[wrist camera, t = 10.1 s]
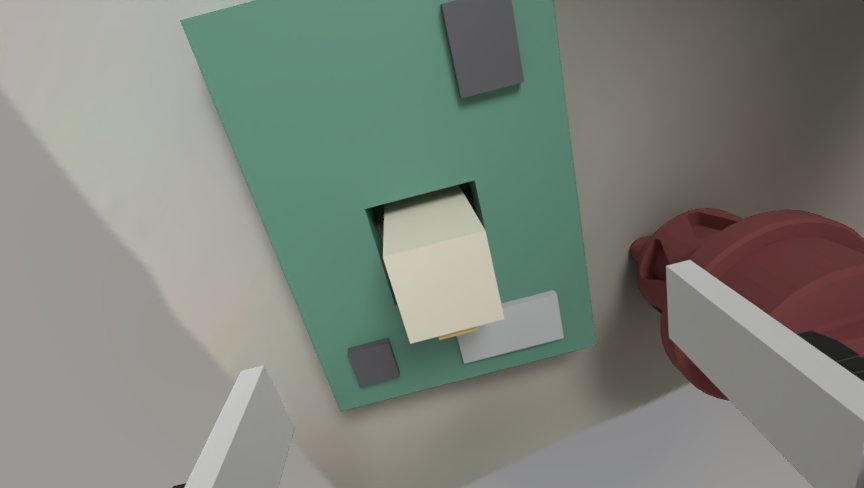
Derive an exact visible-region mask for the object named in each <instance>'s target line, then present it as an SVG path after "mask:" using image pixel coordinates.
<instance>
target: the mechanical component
mask: <svg viewBox="0 0 864 488" xmlns="http://www.w3.org/2000/svg"><path fill="white" fill-rule="evenodd" d="M630 254H631V256H632V258H633V259H634V260H636V261H637V262H638V263H639V265H638V273H637V275H638V284H639V287H640V290H641V292H642V294H643V296H644V298H645V299H646V300H647V301H648V302H649V303H650V304H651V305H652V306H653V307H654V308H655V309H656V310H658V311H659V312H660V313H661V337H662V343H663V346H664V348H665V351H666V353H667V355H668V357H669V358H670V360H671V362H672V363H673V364H674V365H675V366H676V367H677V369H678V370H679V371H680V372H681V373H682V374H683V375H684V376H685V377H686V378H687V379H688V380H689V381H690V382H691V383H692V384H693V385H694V386H695V387H696V388H698V389H700V390H701V391H703V392H705V393H706V394H708V395H711V396H714V397H716V398H720V399H724V400H729V399H728V398H727V397H726V396H725V395H724V394H723V393H722V392H721V391H720V390H719V389H718V388H717V387H716V386H715V384H714V383H713V382H712V381H711V380H710V379H709V378H708V377H707V376H706V375H705V374H704V373H703V372H702V371H701V370H700V369H699V368H698V367H697V366H696V365H695V364H694V363H693V362H692V361H691V360H690V359H689V357H688V356H687V355H686V354H685V353H684V352H683V351H682V350H681V349H680V348H679V347H678V346H677V345H676V344H675V343H674V342H673V341H672V340H671V339H670V338H669V329H668V304H667V280H666V266H667V265H671V264H675V263H679V262H683V261H687V260H691V261H692V262H694V263H695V264H697V265H698V266H700V267H701V268H702V269H704V270H705V271H707V272H708V273H710V274H711V275H712V276H714V277H715V278H717V279H718V280H720V281H721V282H722V283H724V284H725V285H727V286H728V287H730V288H731V289H732V290H734V291H735V292H737V293H738V294H740V295H741V296H742V297H744V298H745V299H747V300H748V301H749V302H751V303H752V304H754V305H755V306H757V307H758V308H759V309H761V310H762V311H764V312H765V313H767V314H768V315H769V316H771V317H772V318H774V319H775V320H777V321H778V322H779V323H781V324H782V325H784V326H785V327H787V328H788V329H789V330H791V331H792V332H794V333H795V334H799V333H803V332H807V331H814V332H817V333H819V334H822V335H825V336H827V337H830V338H833V339H835V340H838V341H839V342H841V343H842V344H844V345H846V346H847V347H849V348H850V349H852V350H853V351H855V352H856V353H858V354H859V356H860V357H864V239H863V238H862V237H861V236H860V235H859V234H858V233H857V232H855V231H854V230H853V229H851V228H849V227H847V226H846V225H844V224H841V223H839V222H836V221H833V220H830V219H827V218H825V217H822V216H819V215H816V214H813V213H809V212H805V211H797V210H778V211H771V212H766V213H761V214H757V215H754V216H751V217H748V218H745V219H742V218H739V217H737V216H735V215H732V214H730V213H728V212H725V211H722V210H719V209H710V208H706V209H697V210H692V211H688V212H686V213H683V214H681V215H679V216H677V217H675V218H673V219H672V220H670V221H668V222H667V223H666V224H665V225H663V226H662V227H661V228H660V229H659V230H658V231H657V232H656V233H655V234H654V235H653V236H652V237H641V238H639V239H637V240H636V241H635V242H634V243H633V244H632V246H631V250H630Z"/></svg>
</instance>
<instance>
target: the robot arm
mask: <svg viewBox="0 0 864 488" xmlns="http://www.w3.org/2000/svg"><path fill="white" fill-rule="evenodd" d="M666 280H667V304H668V329H669V338H670V339H671V340H672V341H673V342H674V343H675V344H676V345H677V346H678V347H679V348H680V349H681V350H682V351H683V352H684V353H685V354H686V355H687V356H688V357H689V359H690V360H691V361H692V362H693V363H694V364H695V365H696V366H697V367H698V368H699V369H700V370H701V371H702V372H703V373H704V374H705V375H706V376H707V377H708V378H709V379H710V380H711V381H712V382H713V383H714V384H715V386H716V387H717V388H718V389H719V390H720V391H721V392H722V393H723V394H724V395H725V396H726V397H727V398H728V399H729V400H730V401H731V402H732V403H733V404H734V405H735V406H736V407H737V408H738V409H739V410H740V411H741V413H742V414H744V416H745V417H746V418H747V419H748V420H749V421H750V422H751V423H752V424H753V425H754V426H755V427H756V428H757V429H758V430H759V431H760V432H761V433H762V434H763V435H764V436H765V437H766V438H767V440H769V442H771V444H772V445H773V446H774V447H775V448H776V449H777V450H778V451H779V452H780V453H781V454H782V455H783V456H784V457H785V458H786V459H787V460H788V461H789V462H790V463H791V464H792V465H793V466H794V468H795V469H796V470H797V471H798V472H799V473H800V474H801V475H802V476H803V477H804V478H805V479H806V480H807V481H808V482H809V483H810V484H811V485H812V486H813V487H814V488H864V357H860V356H859V354H858V353H856V352H855V351H853V350H852V349H850V348H849V347H847V346H846V345H844V344H842V343H841V342H839V341H838V340H835V339H833V338H830V337H827V336H825V335H822V334H819V333H817V332H814V331H807V332H803V333H799V334H795V333H794V332H792V331H791V330H789V329H788V328H787V327H785V326H784V325H782V324H781V323H779V322H778V321H777V320H775V319H774V318H772V317H771V316H769V315H768V314H767V313H765V312H764V311H762V310H761V309H759V308H758V307H757V306H755V305H754V304H752V303H751V302H749V301H748V300H747V299H745V298H744V297H742V296H741V295H740V294H738V293H737V292H735V291H734V290H732V289H731V288H730V287H728V286H727V285H725V284H724V283H722V282H721V281H720V280H718V279H717V278H715V277H714V276H712V275H711V274H710V273H708V272H707V271H705V270H704V269H702V268H701V267H700V266H698V265H697V264H695V263H694V262H692V261H691V260H687V261H683V262H679V263H675V264H671V265H667V266H666ZM293 432H294V427H293V424H292V422H291V420H290V418H289V416H288V414H287V412H286V410H285V408H284V406H283V404H282V402H281V399H280V397H279V395H278V393H277V391H276V389H275V387H274V385H273V383H272V381H271V379H270V377H269V375H268V372H267V370H266V368H265V366H260V367H256V368H252V369H247V370H243V371H241V373H240V375H239V377H238V379H237V381H236V383H235V385H234V387H233V389H232V391H231V393H230V395H229V397H228V399H227V401H226V404H225V405H224V407H223V409H222V411H221V413H220V416H219V418H218V420H217V422H216V424H215V426H214V428H213V430H212V432H211V434H210V436H209V438H208V440H207V442H206V445H205V446H204V448H203V450H202V452H201V454H200V457H199V459H198V461H197V463H196V465H195V467H194V469H193V471H192V473H191V475H190V477H189V479H188V481H187V483H185V484H181V485H177V486H174V487H173V488H278V486H279V483H280V479H281V476H282V472H283V468H284V465H285V461H286V457H287V454H288V450H289V446H290V443H291V439H292V435H293Z"/></svg>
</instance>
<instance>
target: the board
mask: <svg viewBox="0 0 864 488" xmlns="http://www.w3.org/2000/svg"><path fill="white" fill-rule="evenodd" d="M180 21H181V24H182V26H183V29H184V31H185V34H186V36H187V38H188V41H189V43H190V46H191V48H192V51H193V53H194V56H195V58H196V60H197V63H198V65H199V68H200V70H201V73H202V75H203V77H204V80H205V82H206V85H207V87H208V90H209V92H210V94H211V97H212V99H213V102H214V104H215V107H216V109H217V112H218V114H219V116H220V119H221V121H222V124H223V126H224V129H225V131H226V133H227V136H228V138H229V141H230V143H231V146H232V148H233V150H234V153H235V155H236V158H237V160H238V163H239V165H240V168H241V170H242V172H243V175H244V177H245V180H246V182H247V185H248V187H249V189H250V192H251V194H252V197H253V199H254V202H255V204H256V206H257V209H258V211H259V214H260V216H261V219H262V221H263V224H264V226H265V228H266V231H267V233H268V236H269V238H270V241H271V243H272V245H273V248H274V250H275V253H276V255H277V258H278V260H279V262H280V265H281V267H282V270H283V272H284V275H285V277H286V280H287V282H288V284H289V287H290V289H291V292H292V294H293V297H294V299H295V301H296V304H297V306H298V309H299V311H300V314H301V316H302V318H303V321H304V323H305V326H306V328H307V331H308V333H309V336H310V338H311V340H312V343H313V345H314V348H315V350H316V353H317V355H318V357H319V360H320V362H321V365H322V367H323V370H324V372H325V374H326V377H327V379H328V382H329V384H330V387H331V389H332V392H333V394H334V396H335V399H336V401H337V404H338V406H339V409H340V411H344V410H348V409H352V408H356V407H360V406H364V405H368V404H371V403H375V402H379V401H383V400H387V399H391V398H395V397H399V396H402V395H406V394H410V393H414V392H418V391H422V390H426V389H430V388H433V387H437V386H441V385H445V384H449V383H453V382H457V381H460V380H464V379H468V378H472V377H476V376H480V375H484V374H488V373H491V372H495V371H499V370H503V369H507V368H511V367H515V366H519V365H522V364H526V363H530V362H534V361H538V360H542V359H546V358H550V357H553V356H557V355H561V354H565V353H569V352H573V351H577V350H580V349H584V348H588V347H592V346H596V341H595V333H594V325H593V317H592V309H591V301H590V293H589V285H588V277H587V269H586V261H585V253H584V245H583V237H582V229H581V221H580V213H579V205H578V197H577V189H576V181H575V173H574V165H573V157H572V149H571V141H570V133H569V125H568V117H567V109H566V101H565V93H564V85H563V77H562V69H561V61H560V53H559V45H558V37H557V29H556V21H555V13H554V5H553V0H255V1H252V2H248V3H244V4H240V5H237V6H233V7H229V8H225V9H222V10H218V11H214V12H210V13H206V14H203V15H199V16H195V17H191V18H188V19H184V20H180ZM466 182H469V185H470V190H471V194H472V199H473V204H474V208H475V213H476V215H477V217H478V219H479V220H480V222H481V224H482V226H483V227H484V229H485V231H486V236H487V240H488V245H489V249H490V254H491V259H492V263H493V268H494V273H495V277H496V282H497V286H498V291H499V296H500V300H501V305H502V309H503V314H504V319H503V320H499V321H495V322H492V323H488V324H484V325H480V326H476V327H477V330H476V331H472V332H468V333H464V334H461V335H457V336H453V337H449V338H445V339H442V340H439V337H434V338H431V339H427V340H423V341H419V342H415V343H412V344H410V342H409V338H408V335H407V332H406V329H405V326H404V323H403V320H402V316H401V313H400V310H399V307H398V304H397V301H396V297H395V294H394V291H393V288H392V285H391V282H390V279H389V275H388V272H387V269H386V266H385V263H384V260H383V243H382V240H381V237H380V233H379V230H378V227H377V224H376V220H375V217H374V214H373V211H372V208H371V207H375V206H378V205H382V204H386V203H390V202H394V201H398V200H401V199H405V198H409V197H413V196H417V195H421V194H424V193H428V192H432V191H436V190H440V189H443V188H447V187H451V186H455V185H459V184H463V183H466Z"/></svg>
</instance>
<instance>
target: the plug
mask: <svg viewBox="0 0 864 488" xmlns="http://www.w3.org/2000/svg"><path fill="white" fill-rule="evenodd" d="M383 260H384V263H385V266H386V269H387V272H388V275H389V279H390V282H391V285H392V288H393V291H394V294H395V297H396V301H397V304H398V307H399V310H400V313H401V316H402V320H403V323H404V326H405V329H406V332H407V335H408V338H409V342H410V344H412V343H415V342H419V341H423V340H427V339H431V338H434V337H439V340H442V339H445V338H449V337H453V336H457V335H461V334H464V333H468V332H472V331H476V330H477V327H476V326H480V325H484V324H488V323H492V322H495V321H499V320H503V319H504V314H503V309H502V305H501V300H500V296H499V291H498V286H497V282H496V277H495V273H494V268H493V263H492V259H491V254H490V249H489V245H488V240H487V236H486V231H485V229H484V227H483V226H482V224H481V222H480V220H479V219H478V217H477V215H476V214H475V212H474V210H473V208H472V207H471V205H470V203H469V202H468V200H467V198H466V196H465V195H464V193H463V191H462V190H461V188H460V186H459V185H455V186H451V187H447V188H443V189H440V190H436V191H432V192H428V193H424V194H421V195H417V196H413V197H409V198H405V199H401V200H398V201H394V202H390V203H386V204H384V237H383Z"/></svg>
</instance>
